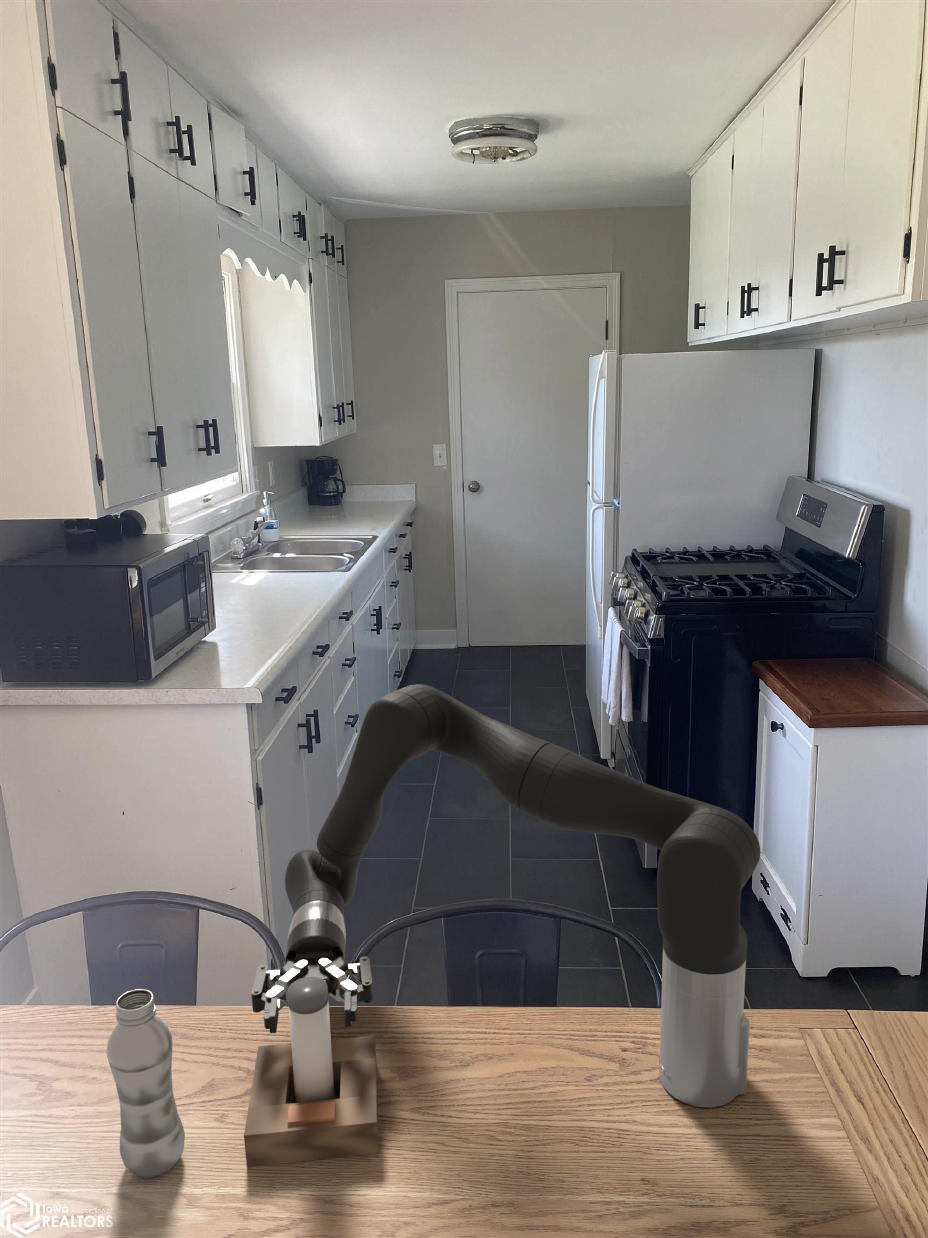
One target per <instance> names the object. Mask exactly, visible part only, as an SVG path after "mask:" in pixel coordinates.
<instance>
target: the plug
mask: <svg viewBox="0 0 928 1238" xmlns="http://www.w3.org/2000/svg"><path fill="white" fill-rule="evenodd" d="M287 995H288V1007H287V1008H288V1017H289V1019H288V1020H289V1030H290V1031H289V1032H290V1033H289V1034H290V1043H291V1047H292V1060H293V1073H294V1086H295V1095H294V1096H295V1103H301V1102H311V1101H321V1100H331V1099H336V1098H335V1096H336V1095H335V1091H334V1080H333V1065H332V1049H331V1040H332V1039H331V1038H332V1036H331V1035H332V1033H331V1022H330V1021H331V1019H330V1006H329V1005H330V1004H329V995H328V988H327V983H326V982H325V981H324V980H323V979H320V978H317V977H305V978H301V979H298V980H296V981H294V982H293V983H292V984H291V985H290V986H289V987H288V990H287Z"/></svg>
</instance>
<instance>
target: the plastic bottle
mask: <svg viewBox="0 0 928 1238" xmlns="http://www.w3.org/2000/svg"><path fill="white" fill-rule="evenodd" d="M115 1008H116V1009H115V1010H116V1013H115V1019H116V1022H117V1024H116V1026H115V1027H114V1028H113V1030H112V1032H111V1034H110V1035H109V1037H108V1040H107V1046H106V1050H105V1051H106V1052H105V1053H106V1056H107V1057H106V1058H107V1061H108V1064H109V1068H110V1070H111V1073H112V1076H113V1079H114V1082H115V1086H116V1091H117V1096H118V1101H119V1107H120V1108H119V1111H120V1113H119V1114H120V1134H119V1154H120V1157H121V1159H122V1163H123V1165H124V1168H125V1169H126V1170H127V1171H128V1172H130V1173H132V1174H133V1175H134V1176H136V1177H139V1178H154V1177H158V1176H161V1175H163V1174H165V1173H167V1172H168V1171H170V1170H171V1169H172V1168H173V1167H174V1166H176V1164H177V1162H178V1161H179V1160H180V1158H182V1154H183V1152H184V1149H185V1140H186V1139H185V1137H186V1135H185V1134H186V1133H185V1130H184V1129H185V1128H184V1126H183V1125H184V1124H183V1122H182V1119H181V1117H180V1114H179V1112H178V1107H177V1104H176V1098H175V1094H174V1088H173V1074H172V1067H173V1066H172V1063H173V1034H172V1032H171V1030H170V1028H169V1026H168V1025H167V1023H166V1022H164V1020H163V1019H161V1018H160V1017H159V1016H157V1014H156V1013H157V1006H156V1004H155V996H154V994H153V992H152V991H151V990H148V989H144V988H138V989H132V990H129V991H126V992H124V993H123V994H122V995H120V996H119V997H118V998H117V1000H116V1002H115Z"/></svg>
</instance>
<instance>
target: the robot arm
mask: <svg viewBox="0 0 928 1238" xmlns="http://www.w3.org/2000/svg"><path fill="white" fill-rule="evenodd" d="M430 751H435V752H441V753H444V754H446V755H449V756H451V757H454V758H456V759H458V760H460V761H463V762H465V763H467V764H469V765H471V766H472V767H474V768H475V769H476V770H477V771H478V772H480V774H482V775H483V777H484V778H485V779H486V781H487V782H488V783H489V785H490V786H491V788H492V789H493V790H494V791H495V792H496V793H497V794H498V796H499V797H500V798H501V799H502V800H504V802H505V803H507V804H508V805H509V806H511V807H512V808H514V809H516V810H518V811H520V812H521V813H524V814H526V815H529V816H530V817H532V818H534V819H536V820H538V821H541V822H543V823H545V824H547V825H550V826H552V827H555V828H558V829H562V830H566V831H572V832H577V833H580V832H581V833H588V834H599V835H609V836H617V837H623V838H624V837H625V838H629V839H632V840H636V841H639V842H641V843H644V844H647V845H648V846H651V847H654V848H656V849H657V850H660V853H659V856H658V863H657V874H656V875H657V876H656V878H657V879H656V881H657V882H656V883H657V885H656V886H657V887H656V888H657V894H656V895H657V921H658V922H657V923H658V928H659V931H660V934H661V936H662V939H663V941H662V942H663V943H662V944H663V945H662V966H661V967H662V970H661V972H662V974H661V975H662V976H661V977H662V978H661V1002H660V1003H661V1005H660V1006H661V1007H660V1008H661V1009H660V1012H661V1013H660V1035H659V1036H660V1040H659V1041H660V1042H659V1050H660V1051H659V1062H658V1063H659V1079H660V1083H661V1085H662V1086H663V1088H664V1089H665V1090H666V1091H667V1092H668V1094H670V1095H671V1096H672V1097H673V1098H675V1099H676V1100H678V1101H680V1102H682V1103H684V1104H687V1105H689V1106H693V1107H699V1108H709V1109H710V1108H718V1107H721V1106H724V1105H727V1104H728V1103H731V1102H732V1101H733V1100H734V1099H735V1098H736V1097H737V1096H741V1095H746V1094H747V1086H748V1085H747V1083H748V1082H747V1081H748V1067H749V1066H748V1065H749V1064H748V1063H749V1050H750V1049H749V1048H750V1028H751V1027H750V1026H751V1023H750V1020H749V1019H748V1017H747V1015H746V1014H745V1012H744V1010H745V1009H744V1007H745V1005H744V1004H745V987H746V986H745V985H746V984H745V983H746V968H747V967H746V966H747V952H748V949H747V948H748V937H747V934H746V930H745V929H744V927H742V925H741V923H740V922H741V899H742V898H741V897H742V890H743V889H744V887H745V886H746V884H747V882H748V881H749V879H750V877H751V876H752V875H753V873H754V872H755V871H756V868H757V866H758V864H759V861H760V859H761V845H760V842H759V839H758V837H757V835H756V833H755V831H754V830H753V829H752V828H751V826H750V825H749V824H748V823H747V822H746V821H745V820H744V819H742V817H740V816H739V815H737V814H736V813H733V812H732V811H729V810H727V809H725V808H722V807H721V806H717V805H714V804H710V803H707V802H704V801H701V800H699V799H698V800H697V799H695V798H691V797H687V796H685V795H681V794H679V793H675V792H672V791H668V790H665V789H661V788H659V787H656V786H653V785H651V784H648V783H645V782H643V781H641V780H638V779H636V778H633V777H631V776H630V775H627V774H625V773H622V772H620V771H617V770H615V769H613V768H610V767H607V766H604V765H603V764H600V763H597V762H595V761H592V760H590V759H588V758H586V757H584V756H582V755H580V754H578V753H576V752H574V751H572V750H569V749H566V748H564V747H562V746H560V745H557V744H554V743H552V742H550V741H547V740H545V739H541V738H539V737H537V736H534V735H532V734H529V733H527V732H525V731H522V730H521V729H518V728H515V727H513V726H510V725H508V724H506V723H503V722H502V721H501V722H500V721H498V720H496V719H495V718H494V719H493V718H491V717H489V716H487V715H484V714H483V713H482V712H479V711H477V710H475V709H474V708H472V707H470V706H468V705H466V704H465V703H463V702H461V701H459V700H457V699H456V698H454V697H452V696H450V695H449V694H447V693H446V692H443V691H442V690H440V689H437V688H436V687H433V686H431V685H426V684H422V683H420V684H419V683H418V684H416V683H415V684H410V685H407V686H403V687H401V688H399V689H397V690H395V691H393V692H390V693H386V694H385V695H382V696H380V697H379V698H378V699H376V700H375V701H374V702H373V703H372V704H371V705H370V706H369V708H368V709H367V712H366V714H365V716H364V719H363V721H362V725H361V727H360V731H359V733H358V737H357V741H356V745H355V749H354V751H353V753H352V758H351V760H350V764H349V768H348V770H347V774H346V775H345V779H344V782H343V784H342V787H341V789H340V791H339V794H338V796H337V798H336V800H335V802H334V804H333V806H332V808H331V810H330V811H329V814H328V815H327V817H326V820H325V821H324V823H323V825H322V827H321V829H320V831H319V833H318V836H317V838H316V847H317V850H318V851H316V850H314V849H303V850H301V851H299V852H297V853H295V854H294V855H293V856H292V857H291V859H290V860H289V863H288V864H287V867H286V870H285V876H284V888H285V892H286V895H287V898H288V901H289V904H290V906H291V909H292V911H293V912H292V920H291V922H290V925H289V930H288V935H287V942H286V943H287V944H286V949H285V950H286V952H285V959H284V964H283V965H282V966H281V967H280V969H272V970H270V969H269V967H268V965H267V964H261V965H259V966H258V967H257V969H256V973H255V976H254V980H253V985H252V988H251V991H250V993H251V994H250V995H251V1008H252V1012H253V1013H260V1012H264V1013H263V1024H264V1029H265V1030H269V1034H277V1032H278V1031H277V1030H278V1023H279V1013H280V1011H281V1010H282V1009H283V1008H284V1007H287V1008H288V995H287V990H288V987H289V986H290V985H291V984H292V983H293V982H294V981H296V980H298V979H301V978H305V977H317V978H320V979H323V980H324V981H325V982H326V983H327V988H328V996H329V997H331V998H332V999H333V1000H335V1001H336V1002H337V1003H341V1002H342V1003H343V1004H344V1027H346V1028H348V1027H352V1023H353V1022H356V1021H357V1020H358V1005H359V1004H360V1003H361V1002H363V1003H366V1004H369V1003H372V1002H373V1000H374V994H373V978H372V969H371V962H370V957H368V956H361V957H360V958H359V962H357V963H348V962H347V960H346V947H347V945H346V944H347V938H346V935H347V933H346V925H345V924H346V923H345V907H346V906H347V905H348V904H350V902H351V901H352V899H353V897H354V895H355V891H356V889H357V888H356V887H357V882H358V874H359V868H360V864H361V861H362V858H363V856H364V853H365V851H366V850H367V848H368V846H369V844H370V843H371V840H372V839H373V837H374V835H375V834H376V831H377V829H378V827H379V825H380V822H381V819H382V815H383V809H384V804H383V803H384V795H385V792H386V790H387V788H388V786H389V784H390V783H391V781H392V780H393V779H394V778H395V776H396V775H397V774H398V772H399V771H400V770H401V769H402V768H403V766H405V765H406V764H407V762H409V761H413V760H416V759H418V758H419V757H421V756H424V755H426V753H429V752H430ZM349 976H353V977H354V978H355V980H356V981H357V983H360V984H358V985H357V983H355V982H354V981H352V980H350V979H349ZM276 982H277V983H276ZM275 984H276V985H275ZM272 986H273V987H272Z"/></svg>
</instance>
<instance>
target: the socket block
mask: <svg viewBox="0 0 928 1238" xmlns="http://www.w3.org/2000/svg"><path fill="white" fill-rule="evenodd" d="M331 1049H332V1065H333V1080H334V1092H338V1091H339V1098H335V1099H331V1100H321V1101H311V1102H301V1103H296V1102H294V1103H292V1096H295V1086H294V1073H293V1060H292V1047H291V1042H290V1043H278V1044H270V1045H269V1044H268V1045H267V1044H266V1045H260V1046H259V1045H258V1046H257V1051H256V1058H255V1063H254V1064H255V1065H254V1070H253V1075H252V1082H251V1083H252V1084H251V1090H250V1096H249V1101H248V1107H247V1113H246V1118H245V1119H246V1121H245V1127H244V1134H243V1138H244V1140H243V1141H244V1150H245V1153H244V1154H245V1162H246V1163H245V1164H246V1168H251V1167H261V1166H271V1165H279V1164H280V1165H281V1164H290V1163H300V1162H308V1161H318V1160H320V1161H321V1160H329V1159H337V1158H347V1157H348V1158H349V1157H355V1156H356V1157H357V1156H365V1155H366V1156H369V1155H376V1154H379V1127H378V1125H379V1124H378V1123H379V1120H378V1118H379V1117H378V1076H377V1075H378V1074H377V1071H378V1070H377V1051H376V1050H377V1049H376V1035H366V1036H356V1037H355V1036H354V1037H345V1038H332V1039H331Z"/></svg>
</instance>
